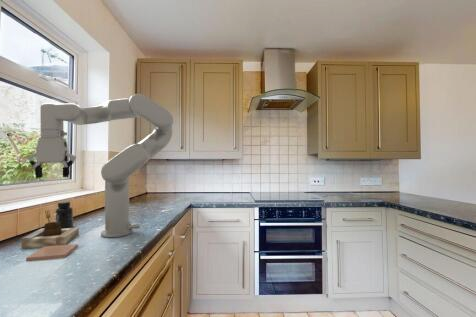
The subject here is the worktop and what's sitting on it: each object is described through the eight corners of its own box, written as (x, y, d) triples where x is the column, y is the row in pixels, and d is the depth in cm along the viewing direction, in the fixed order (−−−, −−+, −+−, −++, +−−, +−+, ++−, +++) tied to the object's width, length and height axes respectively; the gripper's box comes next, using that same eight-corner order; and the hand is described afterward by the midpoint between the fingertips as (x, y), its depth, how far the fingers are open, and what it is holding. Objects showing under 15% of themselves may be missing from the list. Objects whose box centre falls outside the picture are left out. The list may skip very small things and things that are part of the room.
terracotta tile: (77, 246, 95) (77, 243, 95) (65, 257, 85) (65, 254, 85) (43, 249, 93) (43, 246, 93) (26, 260, 82) (26, 257, 82)
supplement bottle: (70, 225, 128) (69, 200, 128) (75, 227, 124) (75, 202, 124) (53, 228, 123) (53, 202, 123) (58, 230, 118) (58, 204, 118)
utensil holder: (50, 244, 99) (49, 212, 99) (39, 242, 101) (39, 211, 101) (65, 239, 104) (65, 209, 104) (54, 238, 107) (54, 208, 107)
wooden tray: (78, 234, 111) (78, 226, 111) (64, 244, 97) (64, 235, 98) (41, 237, 108) (41, 228, 108) (21, 248, 94) (21, 238, 94)
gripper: (79, 135, 110) (79, 176, 109) (34, 135, 107) (34, 177, 107) (71, 133, 102) (71, 177, 102) (22, 133, 99) (22, 178, 99)
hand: (52, 177), depth 104 cm, fingers open, 9 cm apart
